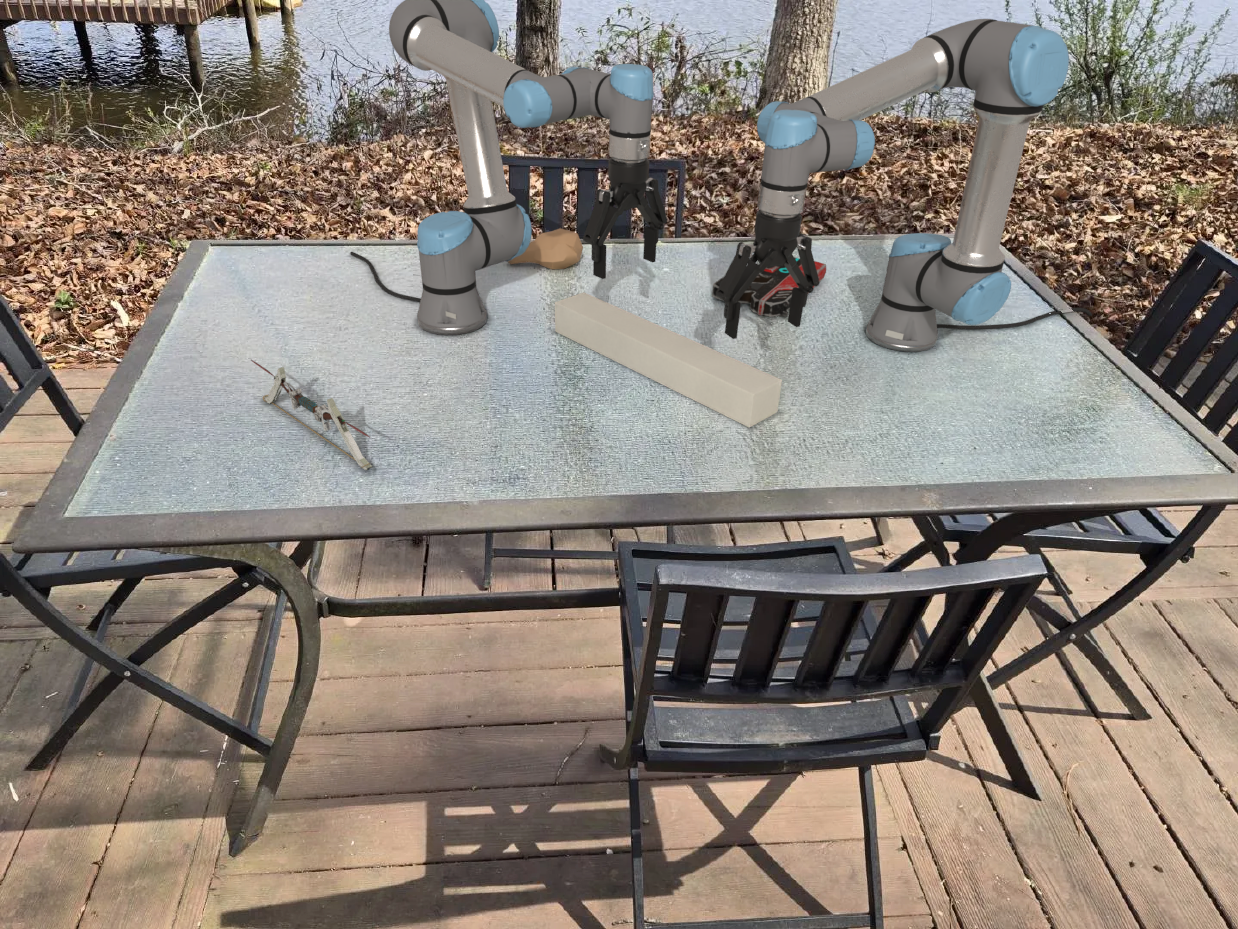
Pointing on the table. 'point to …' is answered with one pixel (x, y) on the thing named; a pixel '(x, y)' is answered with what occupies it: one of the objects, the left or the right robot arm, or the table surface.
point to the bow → (316, 413)
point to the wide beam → (670, 359)
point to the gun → (772, 290)
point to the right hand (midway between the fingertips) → (762, 329)
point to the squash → (553, 250)
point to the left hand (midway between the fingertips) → (624, 268)
